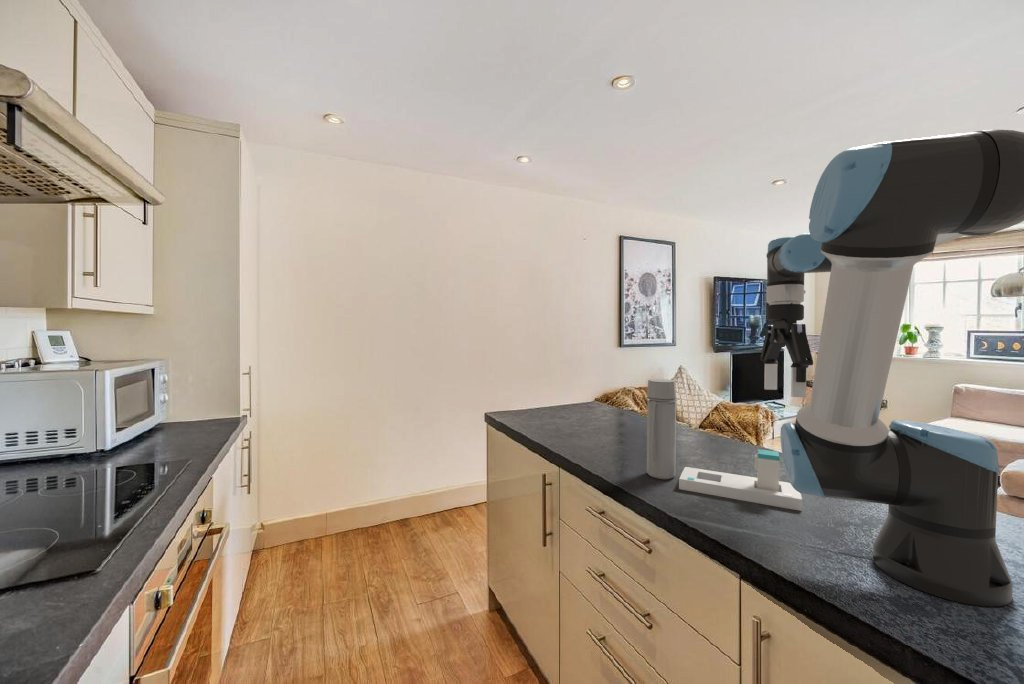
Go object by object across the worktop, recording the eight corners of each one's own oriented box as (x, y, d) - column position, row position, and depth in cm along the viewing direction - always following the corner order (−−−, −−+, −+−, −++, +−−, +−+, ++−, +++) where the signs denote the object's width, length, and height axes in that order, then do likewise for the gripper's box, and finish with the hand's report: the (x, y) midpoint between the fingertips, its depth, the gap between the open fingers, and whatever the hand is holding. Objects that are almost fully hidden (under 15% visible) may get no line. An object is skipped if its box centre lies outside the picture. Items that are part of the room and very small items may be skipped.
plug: (778, 501, 92) (779, 456, 91) (754, 497, 94) (755, 453, 94) (777, 495, 95) (778, 451, 95) (754, 491, 97) (755, 448, 97)
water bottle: (653, 468, 115) (654, 378, 114) (681, 475, 109) (682, 380, 109) (636, 477, 108) (637, 380, 108) (665, 485, 103) (666, 383, 102)
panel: (801, 513, 87) (802, 498, 87) (678, 491, 99) (679, 478, 99) (797, 497, 96) (797, 483, 96) (684, 478, 108) (685, 466, 108)
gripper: (833, 299, 87) (832, 401, 87) (777, 307, 112) (776, 387, 112) (794, 299, 88) (793, 400, 88) (747, 307, 113) (746, 386, 113)
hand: (783, 393), depth 100 cm, fingers open, 13 cm apart
